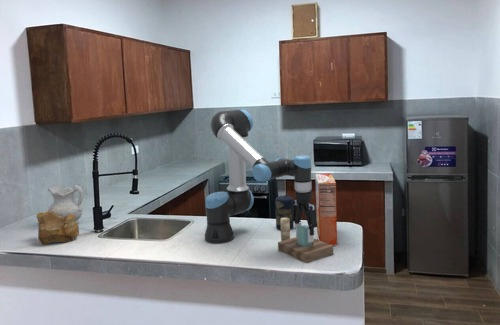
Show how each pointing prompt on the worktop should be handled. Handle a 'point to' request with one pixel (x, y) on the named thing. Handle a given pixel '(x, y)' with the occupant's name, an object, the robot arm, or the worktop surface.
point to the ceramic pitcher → (66, 201)
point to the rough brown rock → (56, 227)
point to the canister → (284, 210)
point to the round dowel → (285, 229)
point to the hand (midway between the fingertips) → (304, 239)
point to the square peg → (303, 236)
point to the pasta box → (326, 208)
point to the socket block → (305, 249)
